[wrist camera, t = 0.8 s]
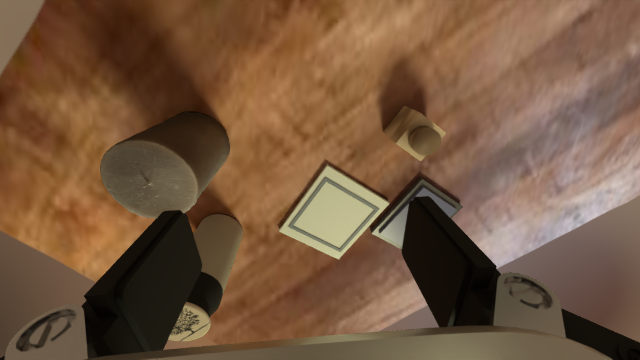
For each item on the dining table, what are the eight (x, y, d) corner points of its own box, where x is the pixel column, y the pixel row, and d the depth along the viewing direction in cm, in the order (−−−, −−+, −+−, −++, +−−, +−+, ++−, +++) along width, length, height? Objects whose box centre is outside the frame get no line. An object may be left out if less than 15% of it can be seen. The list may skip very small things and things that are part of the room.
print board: (326, 163, 41) (327, 166, 40) (388, 201, 45) (389, 204, 44) (279, 228, 46) (278, 232, 45) (337, 256, 50) (338, 260, 50)
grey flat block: (419, 176, 43) (424, 180, 42) (459, 204, 46) (464, 208, 45) (370, 230, 48) (372, 235, 46) (409, 251, 51) (413, 257, 50)
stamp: (404, 105, 37) (428, 116, 30) (426, 123, 39) (454, 137, 32) (383, 131, 39) (401, 148, 32) (405, 147, 41) (427, 166, 33)
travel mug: (190, 224, 45) (127, 318, 29) (225, 206, 43) (179, 293, 27) (218, 252, 48) (176, 350, 32) (251, 236, 47) (225, 329, 31)
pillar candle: (172, 99, 35) (92, 125, 21) (239, 128, 37) (203, 167, 24) (160, 157, 38) (84, 209, 25) (221, 179, 41) (181, 238, 28)
